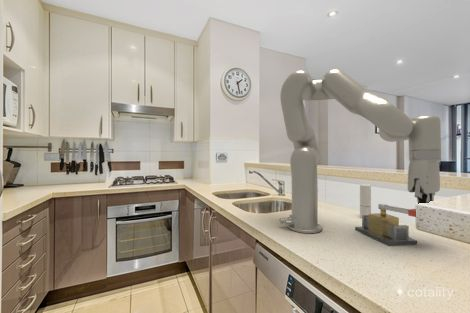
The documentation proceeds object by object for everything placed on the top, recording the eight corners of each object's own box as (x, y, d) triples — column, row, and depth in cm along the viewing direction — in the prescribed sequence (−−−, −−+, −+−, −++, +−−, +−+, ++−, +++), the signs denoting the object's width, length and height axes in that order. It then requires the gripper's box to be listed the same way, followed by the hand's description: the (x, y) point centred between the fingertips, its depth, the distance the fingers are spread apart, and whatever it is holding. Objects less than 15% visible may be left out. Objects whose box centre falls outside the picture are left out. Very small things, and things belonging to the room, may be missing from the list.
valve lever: (376, 209, 75) (376, 203, 75) (381, 208, 76) (381, 203, 76) (426, 219, 63) (426, 212, 63) (431, 217, 64) (431, 211, 64)
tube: (365, 219, 95) (365, 185, 95) (357, 217, 99) (357, 184, 99) (373, 219, 96) (373, 185, 96) (365, 216, 100) (365, 184, 100)
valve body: (388, 246, 66) (388, 216, 66) (355, 230, 81) (355, 205, 81) (417, 244, 68) (417, 214, 68) (379, 228, 82) (378, 204, 82)
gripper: (420, 156, 74) (422, 210, 73) (398, 156, 67) (399, 216, 66) (450, 156, 67) (451, 215, 67) (428, 156, 60) (430, 222, 60)
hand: (425, 215), depth 67 cm, fingers closed
